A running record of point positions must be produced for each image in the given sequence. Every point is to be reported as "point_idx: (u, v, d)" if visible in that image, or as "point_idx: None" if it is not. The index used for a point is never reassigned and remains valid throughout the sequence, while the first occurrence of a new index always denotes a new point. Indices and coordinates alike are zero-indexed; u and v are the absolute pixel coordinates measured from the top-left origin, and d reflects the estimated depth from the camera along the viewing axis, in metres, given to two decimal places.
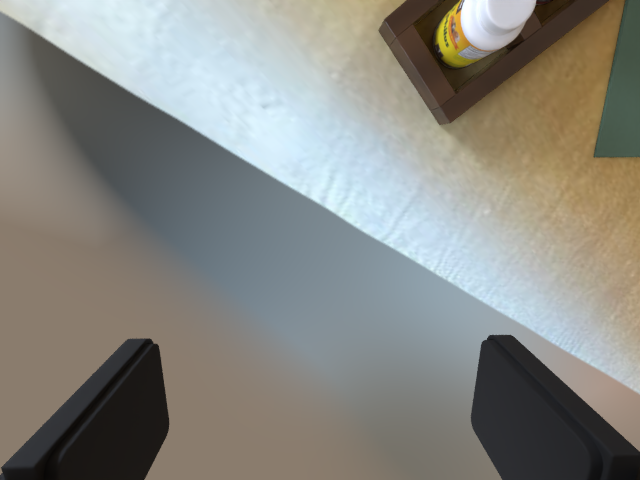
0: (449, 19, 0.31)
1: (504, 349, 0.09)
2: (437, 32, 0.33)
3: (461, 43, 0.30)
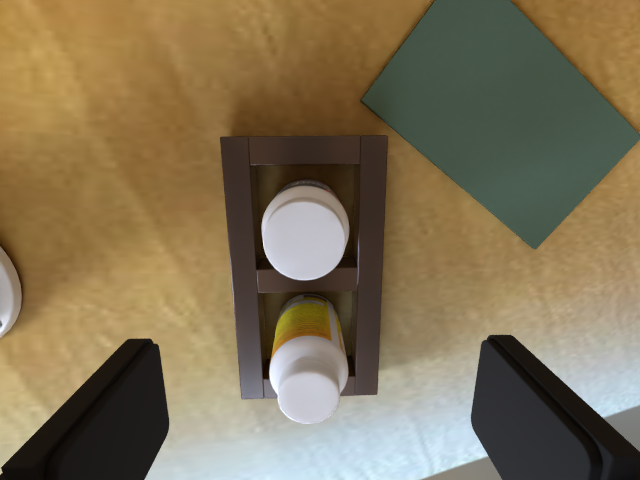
0: None
1: (504, 349, 0.09)
2: None
3: None
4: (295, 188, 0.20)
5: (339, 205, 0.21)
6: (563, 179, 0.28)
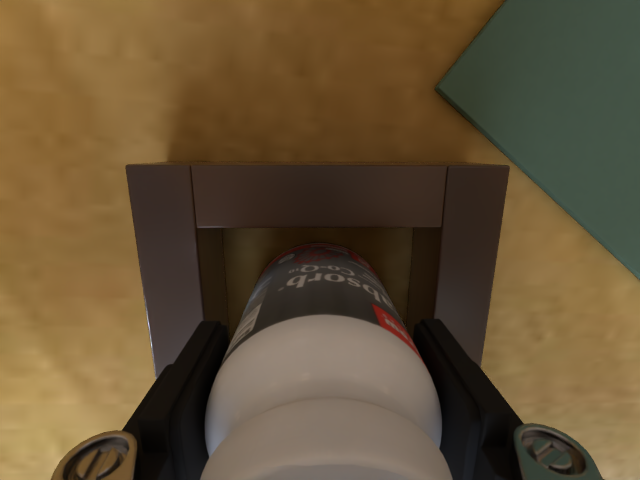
0: None
1: (429, 330, 0.09)
2: None
3: None
4: (298, 329, 0.07)
5: (422, 375, 0.07)
6: None
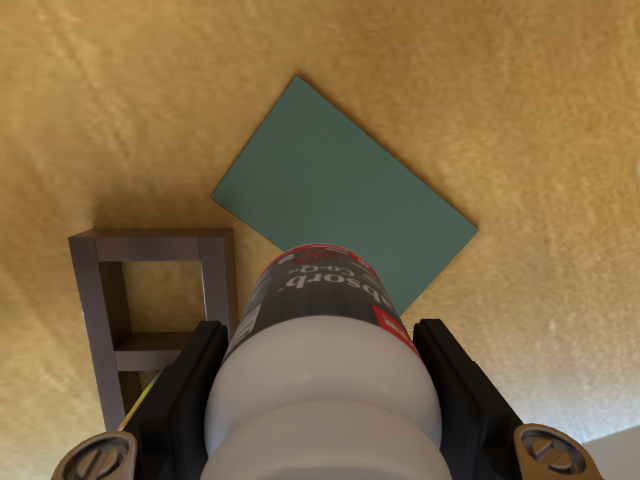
0: None
1: (429, 330, 0.09)
2: None
3: None
4: (298, 330, 0.07)
5: (422, 376, 0.07)
6: (409, 267, 0.30)
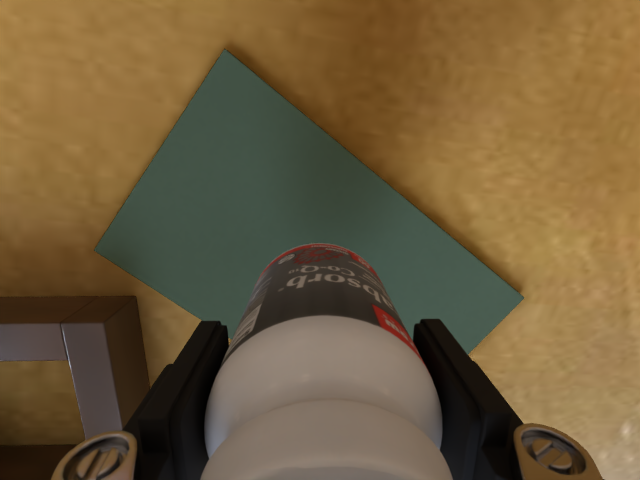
0: None
1: (429, 330, 0.09)
2: None
3: None
4: (298, 330, 0.07)
5: (423, 376, 0.07)
6: None
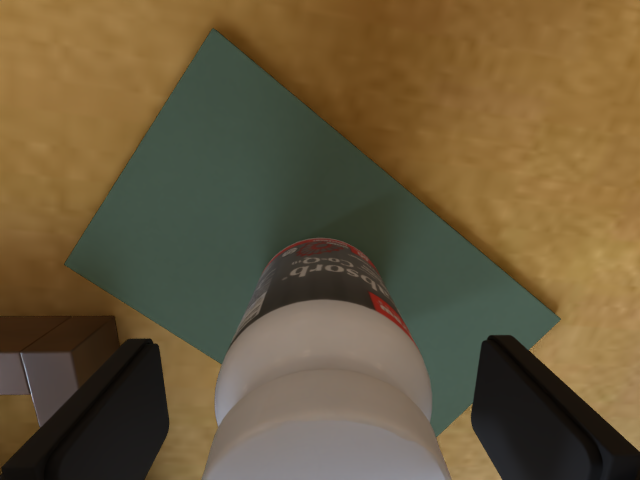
0: None
1: (504, 349, 0.09)
2: None
3: None
4: (300, 312, 0.08)
5: (413, 355, 0.08)
6: (432, 380, 0.17)
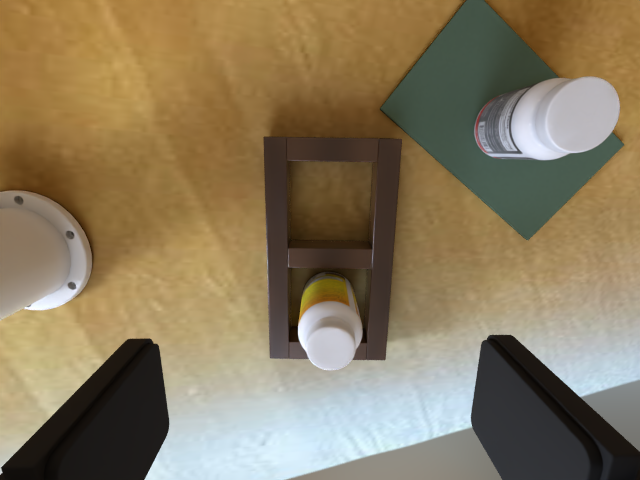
0: None
1: (504, 349, 0.09)
2: None
3: None
4: None
5: None
6: (554, 180, 0.32)
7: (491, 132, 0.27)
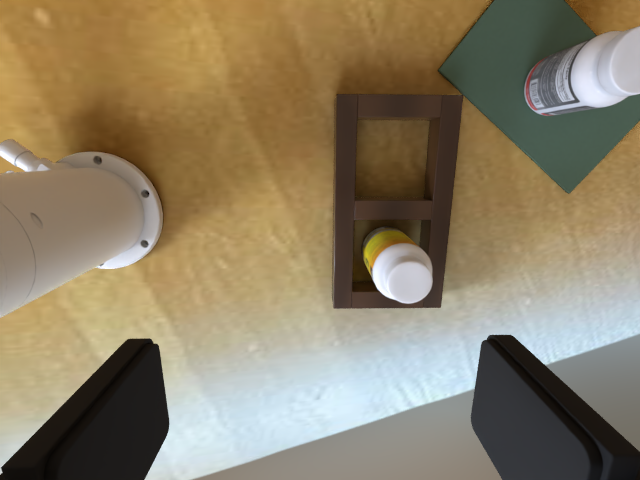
0: None
1: (504, 349, 0.08)
2: None
3: None
4: None
5: None
6: (594, 136, 0.35)
7: (546, 87, 0.30)
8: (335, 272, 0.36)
